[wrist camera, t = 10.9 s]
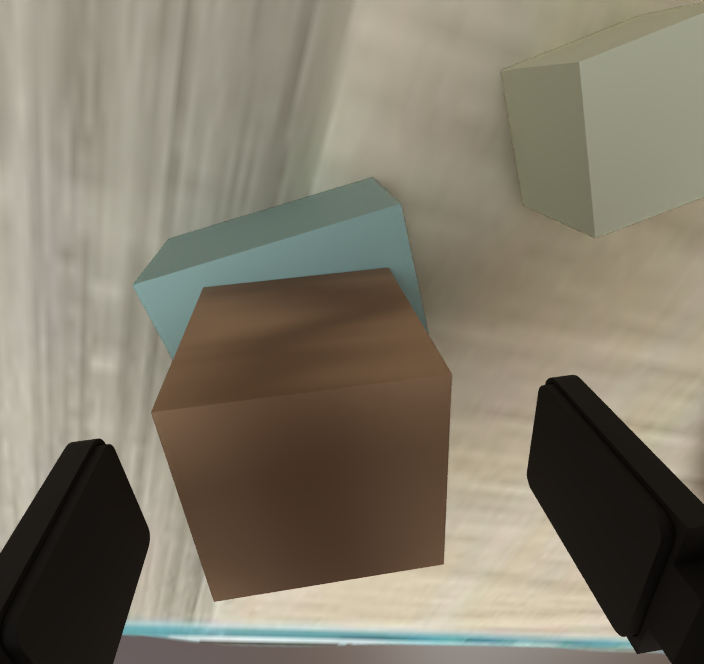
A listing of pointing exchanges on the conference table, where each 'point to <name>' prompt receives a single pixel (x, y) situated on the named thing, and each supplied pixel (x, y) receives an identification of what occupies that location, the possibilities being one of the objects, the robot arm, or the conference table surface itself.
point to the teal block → (280, 252)
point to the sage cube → (612, 122)
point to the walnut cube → (308, 432)
